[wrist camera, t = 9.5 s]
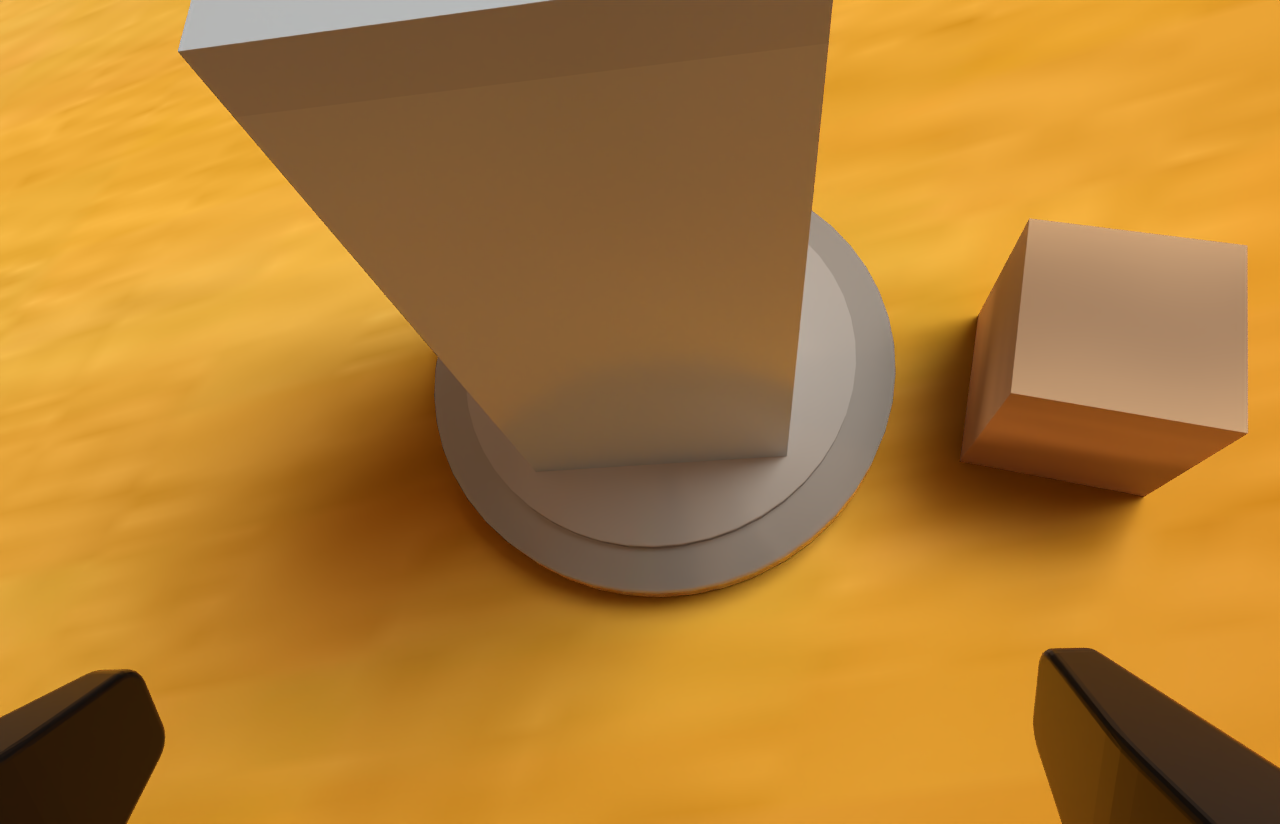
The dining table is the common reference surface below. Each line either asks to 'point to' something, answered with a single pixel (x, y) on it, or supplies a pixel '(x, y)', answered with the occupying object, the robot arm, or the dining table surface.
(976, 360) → the tan block
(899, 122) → the dining table surface
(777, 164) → the tall pale pillar
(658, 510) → the taupe domed disc
